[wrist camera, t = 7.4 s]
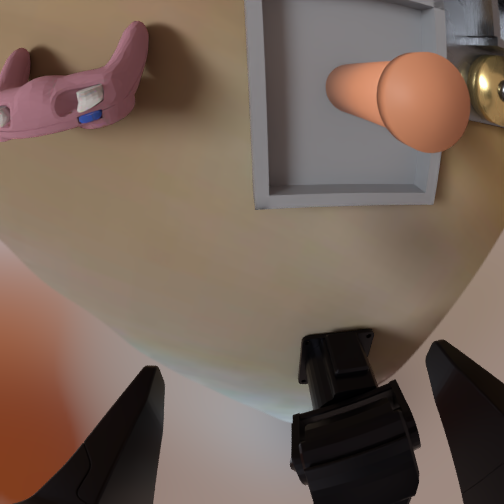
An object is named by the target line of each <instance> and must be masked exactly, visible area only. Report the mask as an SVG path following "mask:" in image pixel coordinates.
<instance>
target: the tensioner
mask: <svg viewBox="0 0 504 504" xmlns="http://www.w3.org/2000/svg"><path fill="white" fill-rule="evenodd" d="M444 9H445V23H446V47H447V60H449V61H450V62H451V63H452V64H453V65H454V66H455V67H456V68H457V69H458V71H459V72H460V73H461V75H462V77H463V79H464V81H465V83H466V85H467V88H468V92H469V97H470V116H469V120H471V121H476V122H481V123H485V124H490V125H494V126H499V127H503V128H504V0H444Z"/></svg>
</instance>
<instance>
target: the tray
mask: <svg viewBox="0 0 504 504" xmlns="http://www.w3.org/2000/svg"><path fill="white" fill-rule="evenodd" d="M244 6H245V26H246V46H247V66H248V87H249V108H250V129H251V151H252V173H253V195H254V203H255V210H258V209H278V208H299V207H326V206H360V205H433V204H434V199H435V193H436V187H437V181H438V174H439V167H440V159H441V152H437V153H425V152H421V151H418V150H416V149H414V148H412V147H410V146H408V145H406V144H404V143H402V142H400V141H399V140H397V139H396V138H395V137H394V136H393V135H392V134H391V133H390V132H389V131H388V130H387V128H385V127H383V126H380V125H378V124H375V123H373V122H370V121H368V120H365V119H362V118H360V117H357V116H354V115H351V114H348V113H346V112H343V111H340V110H339V109H337V108H336V107H335V106H333V104H332V103H331V102H330V100H329V99H328V97H327V94H326V80H327V78H328V76H329V74H330V73H331V71H332V70H333V69H335V68H336V67H338V66H340V65H345V64H355V63H367V62H382V61H392V60H393V59H394V58H396V57H397V56H399V55H402V54H405V53H411V52H431V53H435V54H438V55H440V56H442V57H444V58H446V59H447V47H446V23H445V9H444V0H244Z"/></svg>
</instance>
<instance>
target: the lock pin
mask: <svg viewBox="0 0 504 504" xmlns="http://www.w3.org/2000/svg"><path fill="white" fill-rule="evenodd" d="M326 94H327V97H328V99H329V100H330V102H331V103H332V104H333V106H335V107H336V108H337V109H339V110H340V111H343V112H346V113H348V114H351V115H354V116H357V117H360V118H362V119H365V120H368V121H370V122H373V123H375V124H378V125H380V126H383V127H385V128H387V130H388V131H389V132H390V133H391V134H392V135H393V136H394V137H395V138H396V139H397V140H399V141H400V142H402V143H404V144H406V145H408V146H410V147H412V148H414V149H416V150H418V151H421V152H425V153H437V152H441V151H444V150H446V149H448V148H450V147H451V146H453V145H454V144H455V143H456V142H457V141H458V140H459V139H460V138H461V136H462V135H463V133H464V131H465V129H466V127H467V124H468V120H469V116H470V97H469V92H468V88H467V85H466V83H465V81H464V79H463V77H462V75H461V73H460V72H459V71H458V69H457V68H456V67H455V66H454V65H453V64H452V63H451V62H450V61H449V60H447V59H446V58H444V57H442V56H440V55H438V54H435V53H431V52H411V53H405V54H402V55H399V56H397V57H396V58H394V59H393V60H392V61H382V62H367V63H355V64H345V65H340V66H338V67H336V68H335V69H333V70H332V71H331V73H330V74H329V76H328V78H327V80H326Z"/></svg>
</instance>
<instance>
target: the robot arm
mask: <svg viewBox="0 0 504 504" xmlns="http://www.w3.org/2000/svg"><path fill="white" fill-rule="evenodd" d="M373 337H374V333H373V331H372V329H364V330H356V331H348V332H340V333H331V334H321V335H311V336H305V337H303V339H302V342H301V353H300V364H299V374H298V381H299V383H300V384H308V385H309V390H310V395H311V400H312V406H313V410H312V411H309V412H305V413H302V414H300V413H298V414H295V415H293V423H292V449H291V450H292V452H291V461H290V467H291V469H292V470H294V471H296V472H297V474H298V476H299V479H300V481H301V482H302V483H303V484H304V485H308V486H309V489H310V492H311V495H312V499H313V502H314V504H409V502H410V500H411V497H412V496H415V494H416V491H417V488H418V484H419V470H418V466H417V462H416V458H415V454H414V450H416V449H418V448H420V447H421V444H420V438H419V434H418V430H417V427H416V423H415V421H414V418H413V415H412V413H411V410H410V408H409V406H408V404H407V402H406V400H405V398H404V396H403V394H402V392H401V390H400V388H399V386H398V383H397V382H396V380H393V381H390V382H389V383H388V384H386V385H383V386H381V387H378V385H377V382H376V379H375V377H374V374H373V371H372V368H371V366H370V363H369V360H368V358H367V357H368V354H369V351H370V347H371V344H372V340H373ZM307 341H309V342H307ZM426 367H427V371H428V374H429V379H430V383H431V387H432V391H433V395H434V399H435V403H436V406H437V409H438V412H439V414H440V418H441V421H442V424H443V427H444V430H445V434H446V437H447V440H448V444H449V447H450V451H451V453H452V458H453V461H454V465H455V468H456V473H457V477H458V481H459V484H460V489H461V493H462V498H463V503H464V504H504V384H503V383H502V382H501V381H500V380H498V379H497V378H496V377H494V376H493V375H492V374H490V373H489V372H488V371H486V370H485V369H484V368H482V367H481V366H480V365H478V364H477V363H475V362H474V361H473V360H471V359H470V358H469V357H467V356H466V355H465V354H463V353H462V352H461V351H459V350H458V349H457V348H455V347H454V346H452V345H451V344H450V343H448V342H447V341H445V340H438V341H434V342H433V343H432V345H431V347H430V349H429V352H428V354H427V356H426ZM164 395H165V384H164V380H163V377H162V375H161V372H160V370H159V368H158V366H145V367H144V368H143V369H142V370H141V371H140V372H139V374H138V375H137V376H136V377H135V379H134V380H133V381H132V382H131V384H130V385H129V386H128V387H127V389H126V390H125V391H124V392H123V393H122V395H121V396H120V397H119V398H118V400H117V401H116V402H115V404H114V405H113V406H112V407H111V408H110V410H109V411H108V412H107V413H106V415H105V416H104V417H103V418H102V420H101V421H100V422H99V423H98V425H97V426H96V427H95V428H94V430H93V431H92V432H91V433H90V435H89V436H88V437H87V438H86V440H85V441H84V443H82V445H81V446H80V447H79V448H78V450H77V451H76V452H75V453H74V454H73V456H72V457H71V458H70V459H69V460H68V461H67V463H66V464H65V465H64V466H63V467H62V468H61V469H60V470H59V471H58V472H57V473H56V474H55V475H54V476H53V477H52V478H51V479H50V480H49V481H48V482H47V483H46V484H45V485H44V486H43V487H42V488H41V489H39V490H38V491H37V492H36V493H35V494H34V495H33V496H31V497H30V498H28V499H26V500H24V501H21V502H18V503H14V504H153V499H154V491H155V483H156V475H157V468H158V461H159V454H160V447H161V441H162V434H163V420H164Z"/></svg>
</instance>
